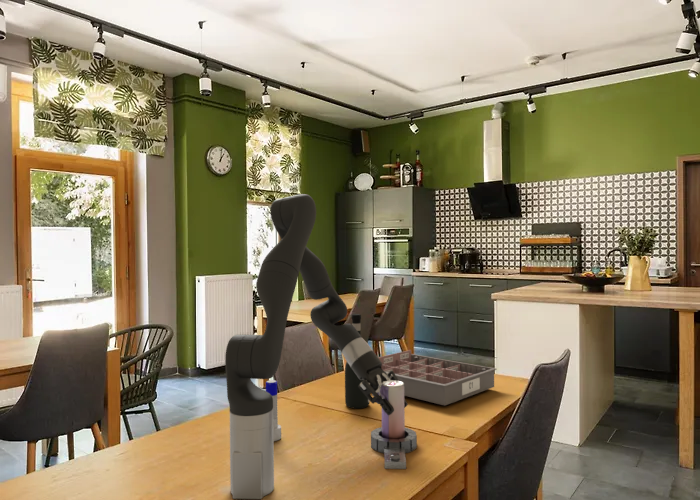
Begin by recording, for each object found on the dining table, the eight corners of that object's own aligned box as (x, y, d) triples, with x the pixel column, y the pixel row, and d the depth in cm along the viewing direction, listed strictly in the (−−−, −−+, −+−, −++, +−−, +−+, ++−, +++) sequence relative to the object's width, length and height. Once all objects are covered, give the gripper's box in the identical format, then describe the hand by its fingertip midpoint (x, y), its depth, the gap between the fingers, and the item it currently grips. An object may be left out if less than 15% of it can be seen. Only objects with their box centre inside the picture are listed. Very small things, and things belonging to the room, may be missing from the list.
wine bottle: (360, 400, 177) (359, 312, 176) (374, 406, 170) (373, 314, 170) (340, 404, 172) (339, 314, 172) (353, 411, 166) (352, 316, 166)
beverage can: (378, 442, 135) (377, 384, 135) (387, 434, 141) (386, 379, 141) (399, 446, 133) (399, 387, 132) (408, 438, 138) (407, 381, 138)
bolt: (284, 439, 142) (267, 443, 139) (276, 434, 146) (259, 437, 143) (283, 381, 142) (266, 384, 139) (276, 378, 146) (259, 380, 143)
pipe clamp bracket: (420, 469, 122) (420, 456, 122) (370, 468, 122) (369, 455, 122) (412, 426, 151) (412, 416, 151) (372, 426, 151) (371, 415, 151)
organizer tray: (445, 411, 165) (445, 379, 165) (355, 388, 194) (355, 361, 194) (497, 390, 188) (497, 363, 188) (410, 372, 216) (409, 348, 216)
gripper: (353, 354, 135) (391, 408, 128) (384, 345, 147) (421, 395, 139) (337, 371, 139) (374, 425, 131) (369, 362, 150) (404, 411, 143)
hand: (398, 409), depth 135 cm, fingers closed on beverage can, 6 cm apart
